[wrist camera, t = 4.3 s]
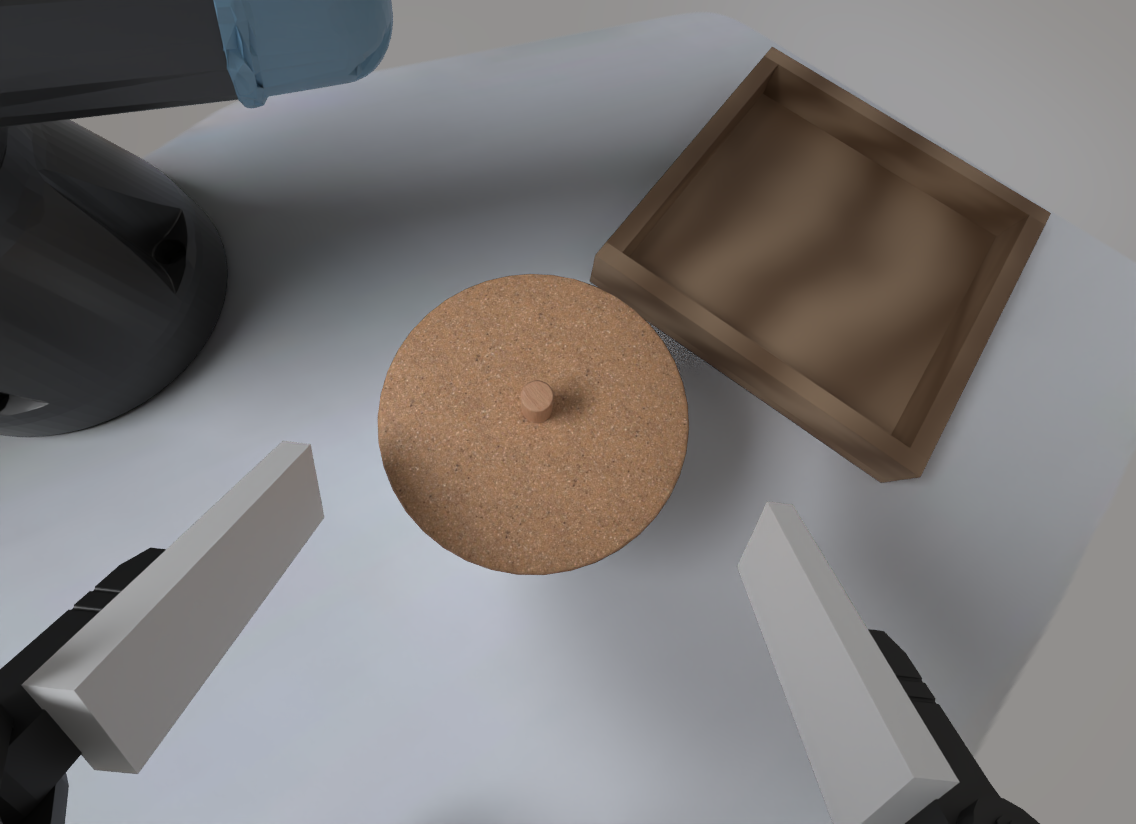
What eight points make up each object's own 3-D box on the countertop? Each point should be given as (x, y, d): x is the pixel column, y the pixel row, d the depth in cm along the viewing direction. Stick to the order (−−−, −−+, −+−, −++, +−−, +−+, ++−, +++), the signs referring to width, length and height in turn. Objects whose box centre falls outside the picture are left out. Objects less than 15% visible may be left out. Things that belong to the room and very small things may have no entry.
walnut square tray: (589, 281, 25) (595, 255, 23) (753, 85, 30) (772, 46, 28) (880, 482, 23) (920, 477, 21) (1006, 240, 28) (1050, 213, 26)
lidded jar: (552, 315, 25) (562, 190, 16) (682, 465, 23) (777, 423, 14) (387, 433, 22) (285, 367, 13) (518, 609, 21) (504, 671, 12)
